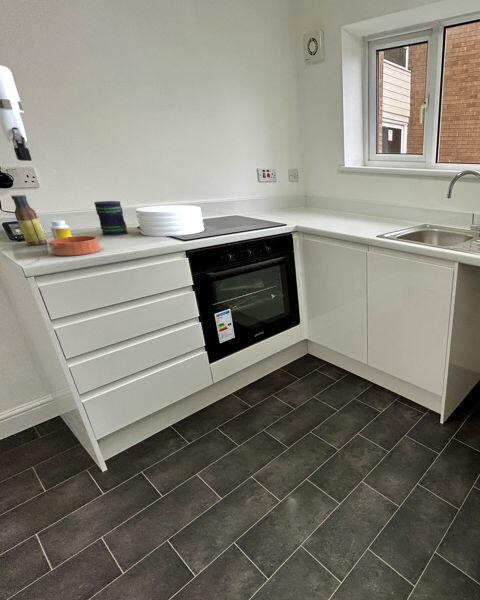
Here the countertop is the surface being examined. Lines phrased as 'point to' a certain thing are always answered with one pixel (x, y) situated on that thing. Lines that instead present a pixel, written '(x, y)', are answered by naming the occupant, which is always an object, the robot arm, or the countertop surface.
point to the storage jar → (111, 218)
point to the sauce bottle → (28, 221)
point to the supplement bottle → (60, 229)
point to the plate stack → (170, 220)
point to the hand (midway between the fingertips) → (24, 160)
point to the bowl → (74, 245)
